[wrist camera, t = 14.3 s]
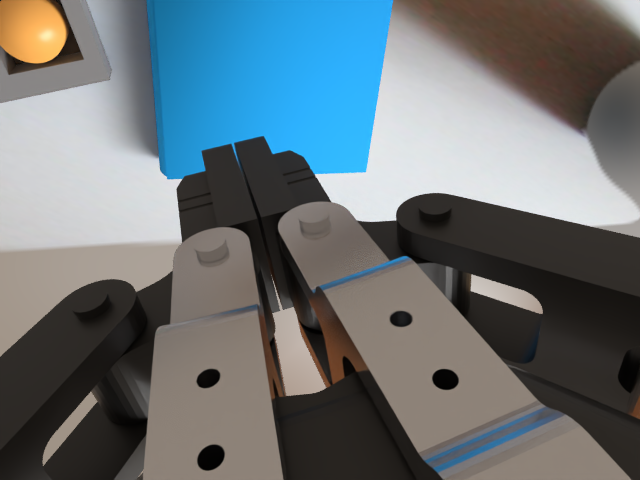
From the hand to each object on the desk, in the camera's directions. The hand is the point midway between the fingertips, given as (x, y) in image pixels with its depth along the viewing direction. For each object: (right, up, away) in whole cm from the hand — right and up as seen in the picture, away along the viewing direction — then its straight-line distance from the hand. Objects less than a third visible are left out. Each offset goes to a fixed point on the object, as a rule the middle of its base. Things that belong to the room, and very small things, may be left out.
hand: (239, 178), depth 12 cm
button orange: (-17, +13, +21) cm, 30 cm away
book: (-2, +16, +26) cm, 30 cm away
